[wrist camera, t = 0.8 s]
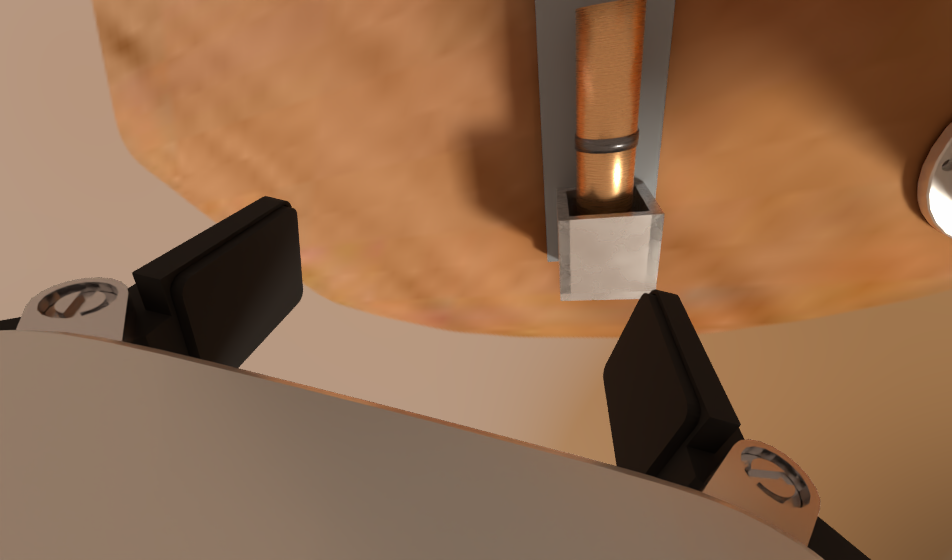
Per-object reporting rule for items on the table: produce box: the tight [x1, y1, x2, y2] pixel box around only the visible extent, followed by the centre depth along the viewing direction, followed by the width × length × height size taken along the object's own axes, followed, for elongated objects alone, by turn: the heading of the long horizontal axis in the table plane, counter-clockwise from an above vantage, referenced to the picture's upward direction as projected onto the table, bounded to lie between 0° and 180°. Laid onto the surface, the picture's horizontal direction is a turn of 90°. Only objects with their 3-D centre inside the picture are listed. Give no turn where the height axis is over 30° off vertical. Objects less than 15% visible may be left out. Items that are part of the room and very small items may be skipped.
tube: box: [575, 0, 647, 216], centre depth 25 cm, size 4×16×4 cm, turn 8°
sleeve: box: [556, 182, 664, 301], centre depth 28 cm, size 6×6×6 cm
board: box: [535, 0, 675, 262], centre depth 27 cm, size 8×24×1 cm, turn 8°
